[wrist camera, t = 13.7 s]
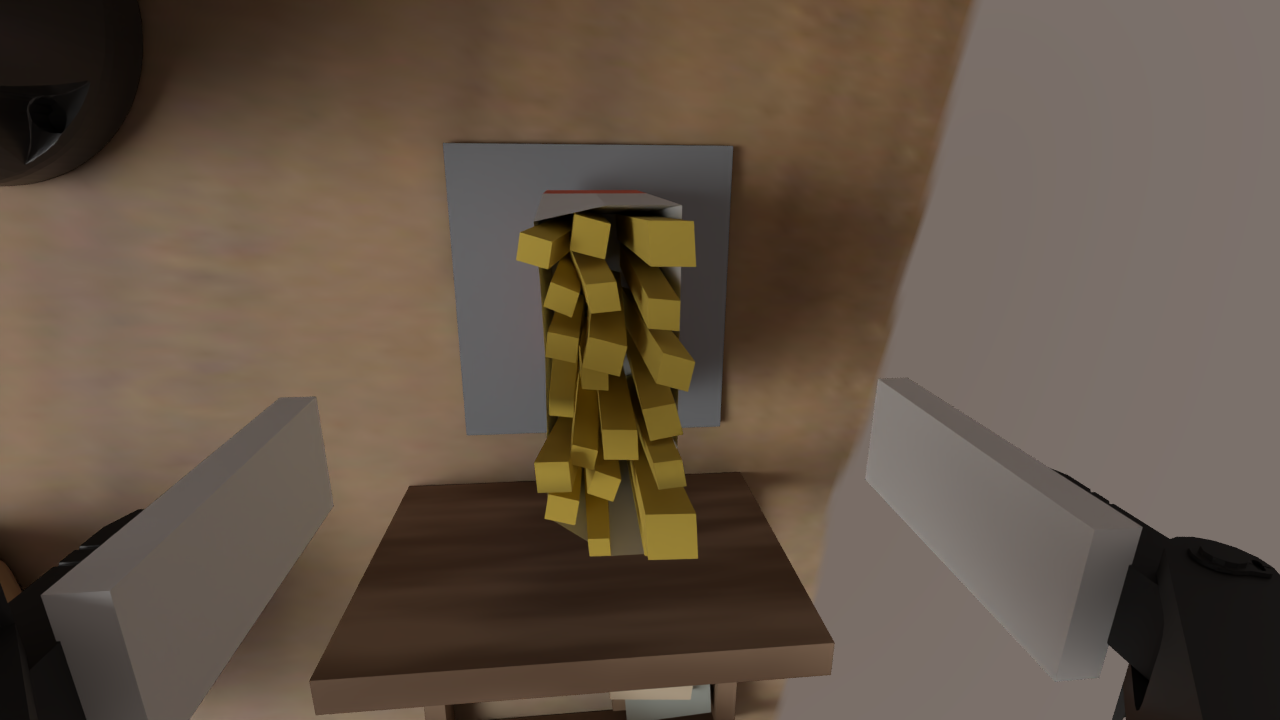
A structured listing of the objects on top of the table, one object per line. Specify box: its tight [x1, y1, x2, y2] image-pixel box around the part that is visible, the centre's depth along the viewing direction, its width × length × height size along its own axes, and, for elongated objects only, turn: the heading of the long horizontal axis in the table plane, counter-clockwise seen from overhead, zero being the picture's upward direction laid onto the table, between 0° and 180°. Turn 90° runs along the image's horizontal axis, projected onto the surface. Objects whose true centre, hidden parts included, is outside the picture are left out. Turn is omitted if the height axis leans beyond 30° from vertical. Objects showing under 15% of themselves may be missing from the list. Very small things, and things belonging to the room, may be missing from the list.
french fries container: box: [516, 190, 698, 560], centre depth 24 cm, size 5×11×18 cm, turn 0°
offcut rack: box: [309, 472, 835, 720], centre depth 32 cm, size 18×19×14 cm
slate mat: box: [443, 143, 733, 435], centre depth 33 cm, size 15×14×1 cm
